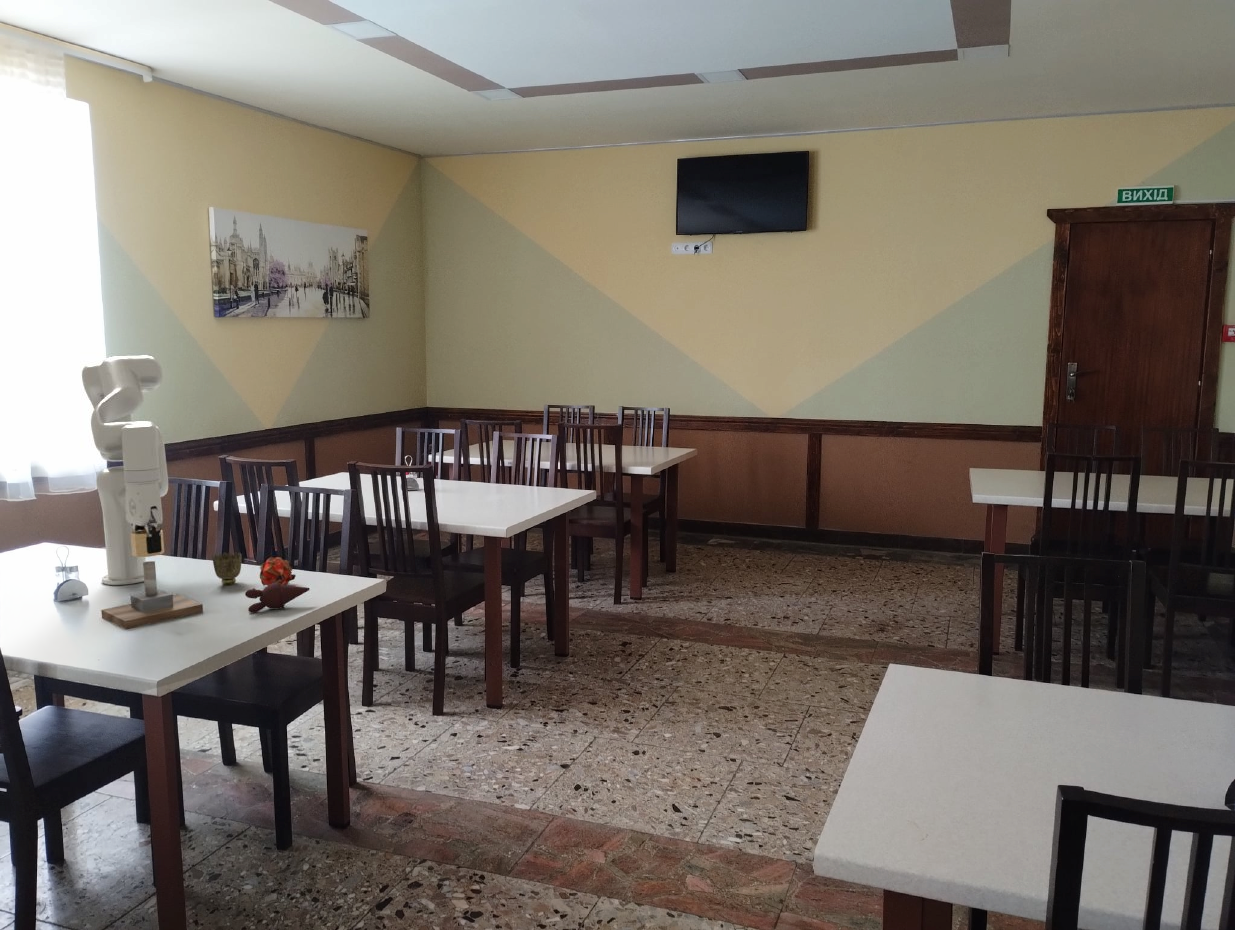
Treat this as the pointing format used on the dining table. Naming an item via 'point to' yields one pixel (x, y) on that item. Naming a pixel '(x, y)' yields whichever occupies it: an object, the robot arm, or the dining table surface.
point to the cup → (227, 567)
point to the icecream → (274, 596)
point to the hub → (142, 544)
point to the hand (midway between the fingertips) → (148, 549)
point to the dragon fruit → (276, 572)
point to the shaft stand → (151, 605)
